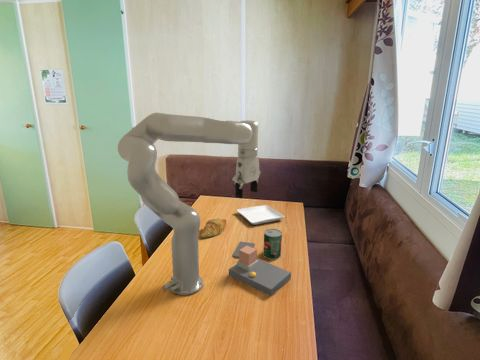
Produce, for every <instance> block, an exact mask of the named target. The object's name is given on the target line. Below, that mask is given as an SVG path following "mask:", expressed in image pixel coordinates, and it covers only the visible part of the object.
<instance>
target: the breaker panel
mask: <svg viewBox="0 0 480 360" xmlns="http://www.w3.org/2000/svg"><path fill="white" fill-rule="evenodd" d="M228 276H229V277H231V278H232V279H234V280H237V281H238V282H240V283H242V284H245V285H247V286H249V287H250V288H251V289H252V288H253V289H255V290H257V291H259V292H261V293H263V294H265V295H267V296H269V297H272V296H273V295H274V294H275V293H276V292H278V291H279V290H281V289H282V288H283V287H284V286H285V285H286V284H287V283H288V282H290V281H291V278H292V272H290V271H288V270H287V269H283V268H282V267H279V266H276V265H275V264H272V263H270V262H267V261H264V260H262V259H260V258H257V257H256V261H255V262H254V263H252V264H251V265H249V266H248V265H246V264H244V263H242V262H239V259H238V260H237V261H236V264H234V265H233V266H231V267H229V268H228Z"/></svg>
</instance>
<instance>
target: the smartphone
mask: <svg viewBox="0 0 480 360" xmlns="http://www.w3.org/2000/svg"><path fill="white" fill-rule="evenodd" d="M255 245H256V243H254V242H247V241H239V243H238V245H237V247H236V249H235V251H234V252H233V254H232V257H233V258H235V259H239V250H240V249H242V248H243V247H245V246H249V247H252V248H254V249H255Z"/></svg>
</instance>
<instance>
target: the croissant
mask: <svg viewBox="0 0 480 360" xmlns="http://www.w3.org/2000/svg"><path fill="white" fill-rule="evenodd" d="M226 225H227V219H224V218H223V219H220V218H212V219H209V220H208V221H206V223H205V226H204V229H202V233H201V234H200V237H201V238H203V239H204V238H205V239H206V238H213V237H215V236H219V235H221V234H222V232H224V230H225V227H226Z"/></svg>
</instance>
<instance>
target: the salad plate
mask: <svg viewBox="0 0 480 360" xmlns="http://www.w3.org/2000/svg"><path fill="white" fill-rule="evenodd" d="M236 212H237V213H238V214H239V215H240V216H242V217H243V218H244V219H245V220H246V221H248V222H249V223H250V224H252V225H263V224H265V223H267V224H268V223H273V222H275V221H280V220H283V219H284V218H285V217H286V216H285V215H284V214H281V213H280V212H279V211H277V210H275V209H274V208H272V207H271V206H269V205H267V204H265V205H256V206H255V205H254V206H249V207H244V208H238V209H236Z"/></svg>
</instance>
